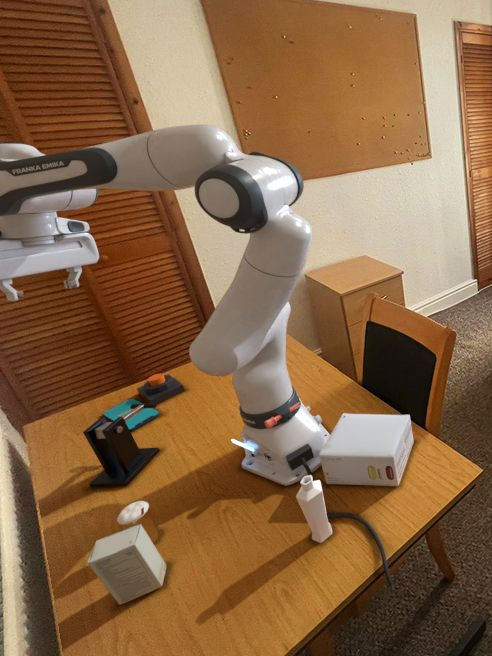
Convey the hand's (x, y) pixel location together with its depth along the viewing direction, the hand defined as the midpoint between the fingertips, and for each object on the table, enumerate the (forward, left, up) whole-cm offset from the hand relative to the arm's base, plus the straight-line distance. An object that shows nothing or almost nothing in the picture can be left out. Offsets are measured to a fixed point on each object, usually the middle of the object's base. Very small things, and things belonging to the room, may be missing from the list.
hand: (46, 293), depth 84 cm
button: (+19, -14, -40) cm, 46 cm away
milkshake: (-33, +6, -44) cm, 55 cm away
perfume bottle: (-61, -13, -44) cm, 76 cm away
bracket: (-7, +2, -44) cm, 44 cm away
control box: (+19, -14, -44) cm, 50 cm away
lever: (-5, -1, -34) cm, 34 cm away
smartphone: (+14, -5, -44) cm, 47 cm away
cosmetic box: (-42, +10, -44) cm, 62 cm away
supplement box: (-56, -30, -44) cm, 77 cm away
